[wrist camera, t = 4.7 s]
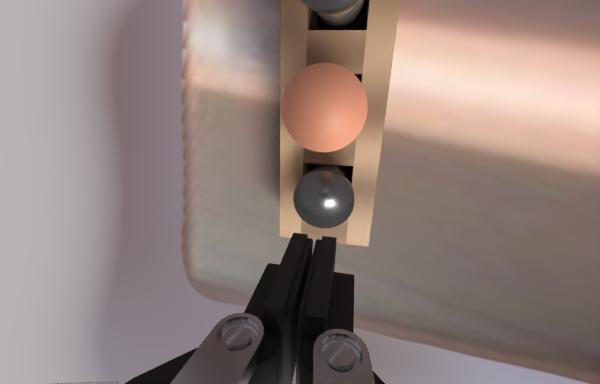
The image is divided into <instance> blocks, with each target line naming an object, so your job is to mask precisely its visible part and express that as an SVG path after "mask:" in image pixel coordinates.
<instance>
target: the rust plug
mask: <svg viewBox="0 0 600 384" xmlns="http://www.w3.org/2000/svg"><path fill="white" fill-rule="evenodd" d="M367 112H368V103H367V96H366V93H365V90H364V87H363V85H362V84H361V82H360V81H359V79H358V78H357V77H356V76H355V75H354V74H353V73H352V72H351V71H350V70H348V69H347V68H345V67H343V66H340V65H338V64H334V63H317V64H313V65H310V66H308V67H306V68H304V69H302V70H301V71H300V72H298V73H297V74H296V75H295V76H294V77H293V78H292V79H291V81H290V82H289V84H288V85H287V87H286V89H285V92H284V95H283V99H282V117H283V121H284V125H285V127H286V129H287V131H288V132H289V134H290V135H291V137H292V138H293V139H294V140H295V141H296V142H297V143H299V144H300V145H301V146H303V147H305V148H307V149H309V150H312V151H316V152H332V151H336V150H339V149H341V148H343V147H345V146H347V145H348V144H350V143H351V142H352V141H353V140H354V139H355V138H356V137H357V136H358V134H359V133H360V132H361V130H362V128H363V126H364V124H365V121H366V117H367Z"/></svg>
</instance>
